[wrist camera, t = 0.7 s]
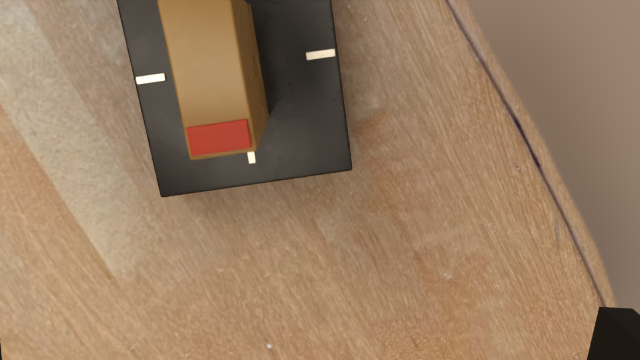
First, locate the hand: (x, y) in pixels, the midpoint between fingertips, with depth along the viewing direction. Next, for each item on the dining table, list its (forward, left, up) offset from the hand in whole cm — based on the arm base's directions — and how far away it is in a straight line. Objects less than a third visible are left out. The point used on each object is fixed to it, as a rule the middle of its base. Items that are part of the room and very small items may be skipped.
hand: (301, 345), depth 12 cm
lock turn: (-6, -2, -16) cm, 17 cm away
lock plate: (-6, -2, -19) cm, 20 cm away
